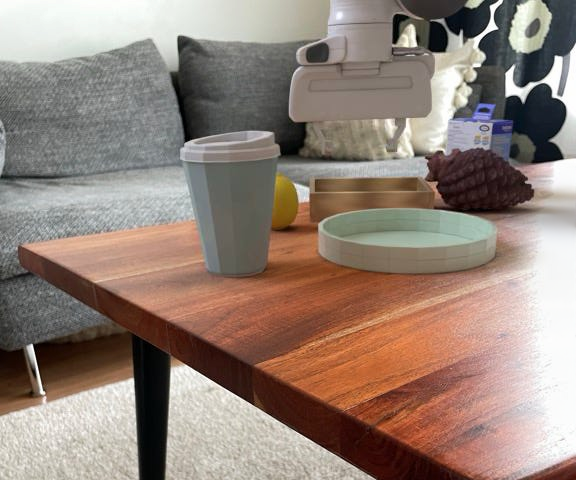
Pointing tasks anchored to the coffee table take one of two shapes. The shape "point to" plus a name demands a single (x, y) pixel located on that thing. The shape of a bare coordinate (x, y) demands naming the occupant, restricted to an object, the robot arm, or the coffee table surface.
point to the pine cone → (477, 180)
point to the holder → (366, 195)
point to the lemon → (284, 203)
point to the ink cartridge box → (480, 133)
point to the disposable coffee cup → (233, 198)
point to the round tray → (407, 240)
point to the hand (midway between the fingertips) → (359, 152)
